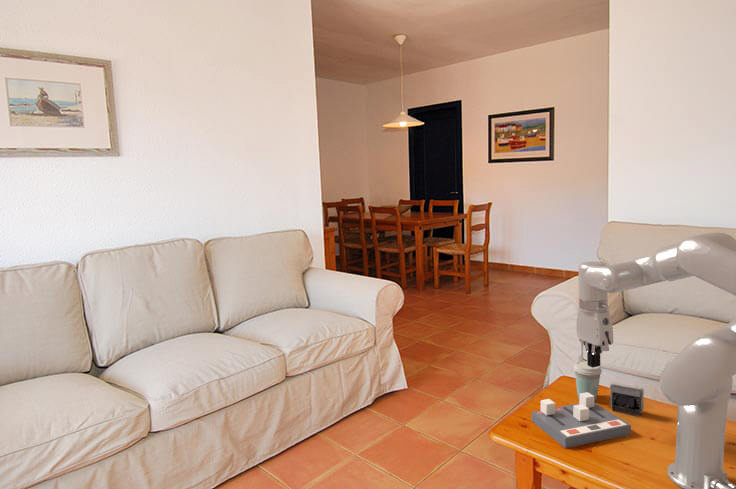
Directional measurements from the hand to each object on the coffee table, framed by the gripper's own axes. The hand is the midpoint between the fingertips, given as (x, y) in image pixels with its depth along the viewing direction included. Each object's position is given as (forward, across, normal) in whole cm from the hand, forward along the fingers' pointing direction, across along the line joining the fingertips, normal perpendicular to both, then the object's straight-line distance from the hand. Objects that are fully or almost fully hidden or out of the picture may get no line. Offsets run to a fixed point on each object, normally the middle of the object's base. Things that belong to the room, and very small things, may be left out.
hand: (593, 365), depth 140 cm
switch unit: (+20, +2, +3) cm, 20 cm away
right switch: (+16, +8, -4) cm, 18 cm away
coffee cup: (+19, +17, -12) cm, 28 cm away
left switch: (+16, +8, +10) cm, 21 cm away
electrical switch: (+20, +5, -17) cm, 26 cm away
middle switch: (+16, +2, +3) cm, 17 cm away
